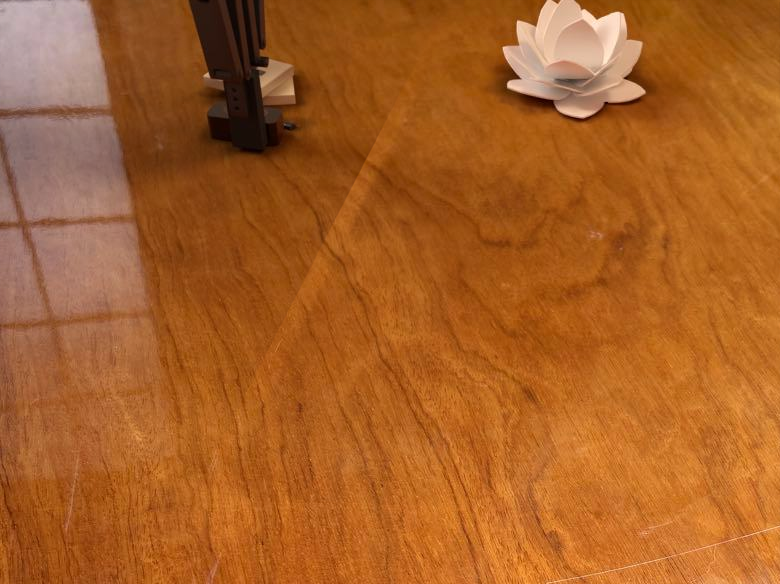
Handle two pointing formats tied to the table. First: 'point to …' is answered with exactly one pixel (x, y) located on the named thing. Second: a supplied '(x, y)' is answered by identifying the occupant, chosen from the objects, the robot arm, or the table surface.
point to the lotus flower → (574, 59)
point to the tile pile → (269, 83)
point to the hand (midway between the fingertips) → (250, 144)
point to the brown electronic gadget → (273, 120)
